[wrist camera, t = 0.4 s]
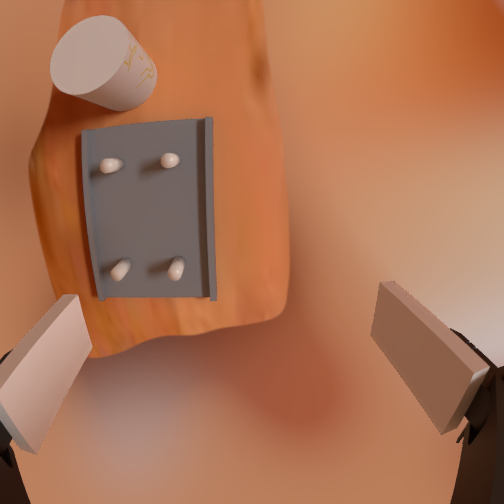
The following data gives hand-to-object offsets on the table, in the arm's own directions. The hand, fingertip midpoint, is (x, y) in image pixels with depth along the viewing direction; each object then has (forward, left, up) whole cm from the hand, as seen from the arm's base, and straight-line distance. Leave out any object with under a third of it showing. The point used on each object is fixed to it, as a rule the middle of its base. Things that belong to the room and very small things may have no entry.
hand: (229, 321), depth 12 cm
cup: (-17, -12, -26) cm, 34 cm away
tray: (0, -9, -26) cm, 27 cm away
